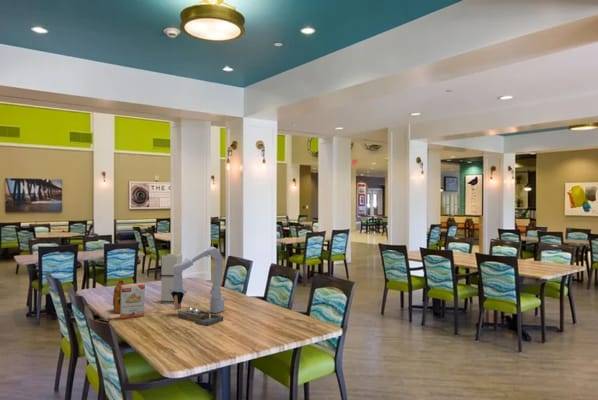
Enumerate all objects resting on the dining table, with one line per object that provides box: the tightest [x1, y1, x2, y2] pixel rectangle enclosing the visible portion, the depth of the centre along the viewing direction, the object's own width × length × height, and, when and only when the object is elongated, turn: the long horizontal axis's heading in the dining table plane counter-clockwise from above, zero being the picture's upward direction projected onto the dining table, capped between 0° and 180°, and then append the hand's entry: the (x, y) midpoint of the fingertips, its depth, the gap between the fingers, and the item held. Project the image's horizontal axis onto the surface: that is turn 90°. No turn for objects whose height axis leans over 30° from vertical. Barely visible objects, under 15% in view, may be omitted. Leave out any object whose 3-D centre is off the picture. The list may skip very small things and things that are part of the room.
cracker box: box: [119, 283, 146, 320], centre depth 266 cm, size 14×6×21 cm, turn 121°
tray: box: [194, 313, 224, 327], centre depth 256 cm, size 14×10×2 cm
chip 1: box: [186, 307, 196, 313], centre depth 265 cm, size 4×3×3 cm
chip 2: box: [193, 308, 202, 314], centre depth 262 cm, size 4×3×3 cm
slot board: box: [177, 307, 210, 323], centre depth 263 cm, size 10×18×4 cm, turn 57°
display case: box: [160, 253, 183, 305], centre depth 306 cm, size 11×11×35 cm
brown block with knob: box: [173, 295, 182, 311], centre depth 272 cm, size 5×3×9 cm, turn 147°
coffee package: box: [112, 277, 126, 314], centre depth 279 cm, size 10×12×22 cm
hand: (177, 303), depth 272 cm, fingers closed on brown block with knob, 3 cm apart
